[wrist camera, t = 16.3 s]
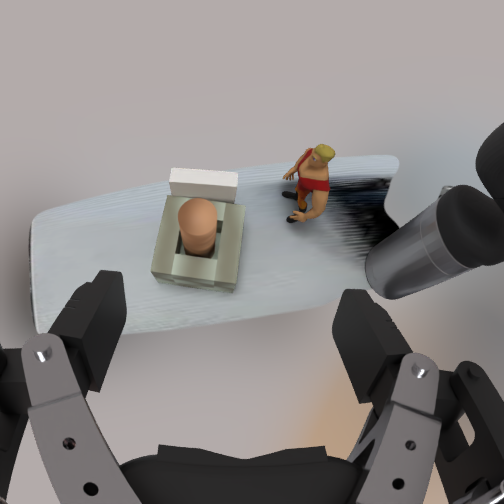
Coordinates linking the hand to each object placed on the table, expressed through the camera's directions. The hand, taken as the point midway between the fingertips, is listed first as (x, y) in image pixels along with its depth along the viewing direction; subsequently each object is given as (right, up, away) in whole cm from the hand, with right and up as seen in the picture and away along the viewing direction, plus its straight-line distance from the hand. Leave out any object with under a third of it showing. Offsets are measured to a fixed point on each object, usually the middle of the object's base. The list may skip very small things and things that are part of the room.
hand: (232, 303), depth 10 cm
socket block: (-6, +2, +31) cm, 31 cm away
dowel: (-6, +2, +29) cm, 29 cm away
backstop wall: (-6, +8, +32) cm, 34 cm away
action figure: (+7, +8, +35) cm, 36 cm away
